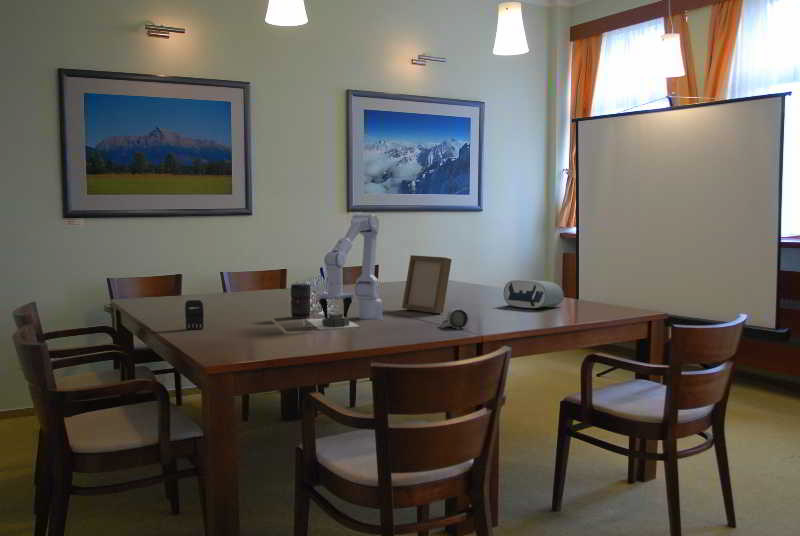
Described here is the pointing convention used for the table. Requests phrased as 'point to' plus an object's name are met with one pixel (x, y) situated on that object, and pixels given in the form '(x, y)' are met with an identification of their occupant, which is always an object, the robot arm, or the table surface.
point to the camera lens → (300, 301)
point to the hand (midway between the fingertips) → (335, 317)
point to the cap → (335, 317)
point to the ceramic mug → (455, 319)
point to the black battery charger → (194, 314)
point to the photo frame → (426, 283)
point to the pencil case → (532, 294)
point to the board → (333, 324)
